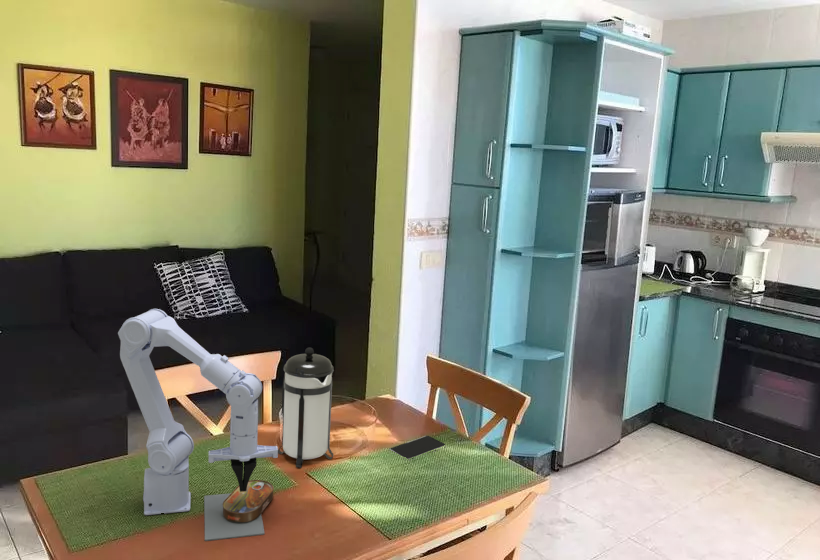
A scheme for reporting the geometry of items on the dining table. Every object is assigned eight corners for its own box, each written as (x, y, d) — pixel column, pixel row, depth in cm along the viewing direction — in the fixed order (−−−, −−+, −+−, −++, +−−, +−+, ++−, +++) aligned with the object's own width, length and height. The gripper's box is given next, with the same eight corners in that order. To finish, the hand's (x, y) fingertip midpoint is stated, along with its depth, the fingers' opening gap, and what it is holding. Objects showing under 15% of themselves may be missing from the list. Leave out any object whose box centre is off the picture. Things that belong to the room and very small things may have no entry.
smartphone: (388, 448, 181) (427, 434, 191) (388, 452, 181) (426, 438, 191) (408, 459, 175) (447, 444, 185) (407, 463, 176) (446, 448, 186)
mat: (204, 541, 134) (204, 539, 134) (204, 496, 151) (204, 495, 151) (264, 534, 138) (264, 533, 138) (257, 492, 155) (257, 490, 154)
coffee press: (341, 446, 182) (346, 342, 176) (323, 472, 166) (328, 359, 161) (281, 438, 184) (285, 335, 179) (259, 462, 169) (262, 351, 164)
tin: (252, 515, 139) (215, 506, 141) (250, 528, 140) (214, 519, 141) (279, 482, 154) (246, 475, 155) (278, 495, 154) (245, 487, 156)
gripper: (209, 441, 135) (208, 501, 138) (280, 436, 140) (278, 495, 142) (208, 427, 142) (208, 485, 144) (276, 423, 146) (274, 479, 149)
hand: (242, 489), depth 144 cm, fingers closed
